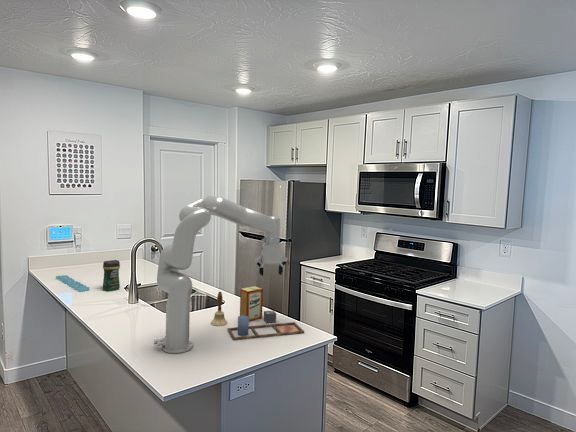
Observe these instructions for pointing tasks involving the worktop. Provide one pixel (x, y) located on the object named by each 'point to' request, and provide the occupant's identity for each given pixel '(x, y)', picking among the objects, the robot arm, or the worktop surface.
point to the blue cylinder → (243, 325)
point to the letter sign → (72, 283)
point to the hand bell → (219, 314)
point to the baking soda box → (251, 302)
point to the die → (269, 317)
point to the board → (280, 332)
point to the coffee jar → (111, 275)
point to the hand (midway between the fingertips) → (270, 274)
